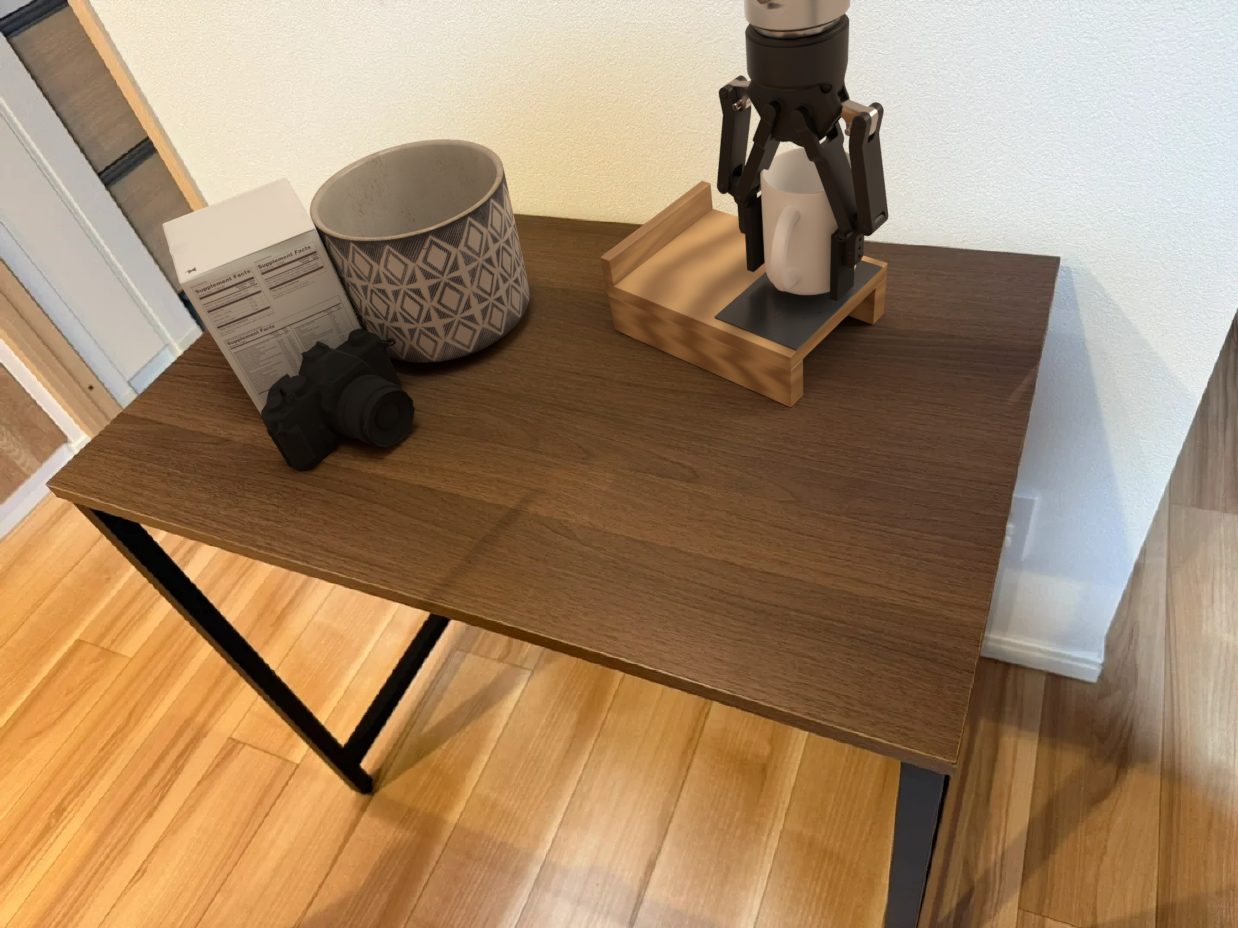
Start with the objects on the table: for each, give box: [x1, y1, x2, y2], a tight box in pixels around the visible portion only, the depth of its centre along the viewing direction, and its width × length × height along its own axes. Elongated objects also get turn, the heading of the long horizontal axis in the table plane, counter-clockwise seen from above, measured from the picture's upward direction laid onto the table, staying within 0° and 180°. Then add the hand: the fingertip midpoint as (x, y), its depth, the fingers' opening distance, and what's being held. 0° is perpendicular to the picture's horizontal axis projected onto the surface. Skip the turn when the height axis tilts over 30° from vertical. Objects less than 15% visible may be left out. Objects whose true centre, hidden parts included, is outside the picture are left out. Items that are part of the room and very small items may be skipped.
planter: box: [309, 138, 531, 364], centre depth 91 cm, size 19×19×16 cm
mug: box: [760, 146, 856, 295], centre depth 76 cm, size 12×8×10 cm
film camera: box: [260, 327, 416, 472], centre depth 83 cm, size 15×10×9 cm, turn 144°
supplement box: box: [162, 177, 362, 415], centre depth 89 cm, size 13×13×18 cm
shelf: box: [600, 180, 888, 408], centre depth 86 cm, size 22×16×9 cm
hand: (799, 277), depth 80 cm, fingers closed on mug, 8 cm apart
